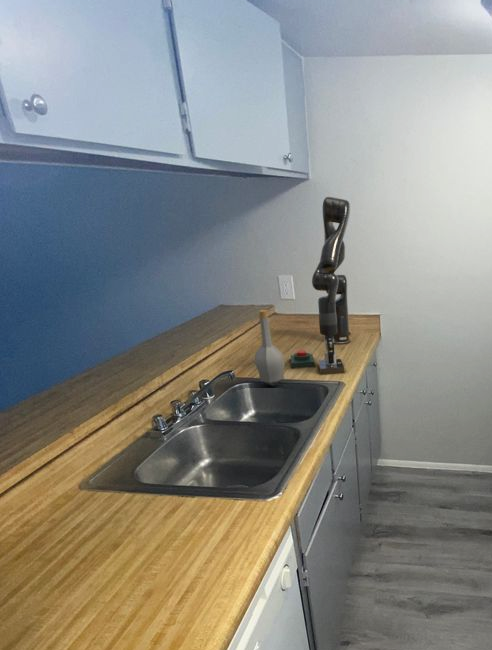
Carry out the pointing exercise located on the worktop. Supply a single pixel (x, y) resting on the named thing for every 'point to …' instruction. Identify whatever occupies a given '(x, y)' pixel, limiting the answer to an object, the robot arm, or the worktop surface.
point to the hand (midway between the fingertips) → (330, 361)
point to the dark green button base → (302, 361)
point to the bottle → (268, 355)
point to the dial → (328, 358)
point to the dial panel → (331, 367)
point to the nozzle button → (301, 353)
